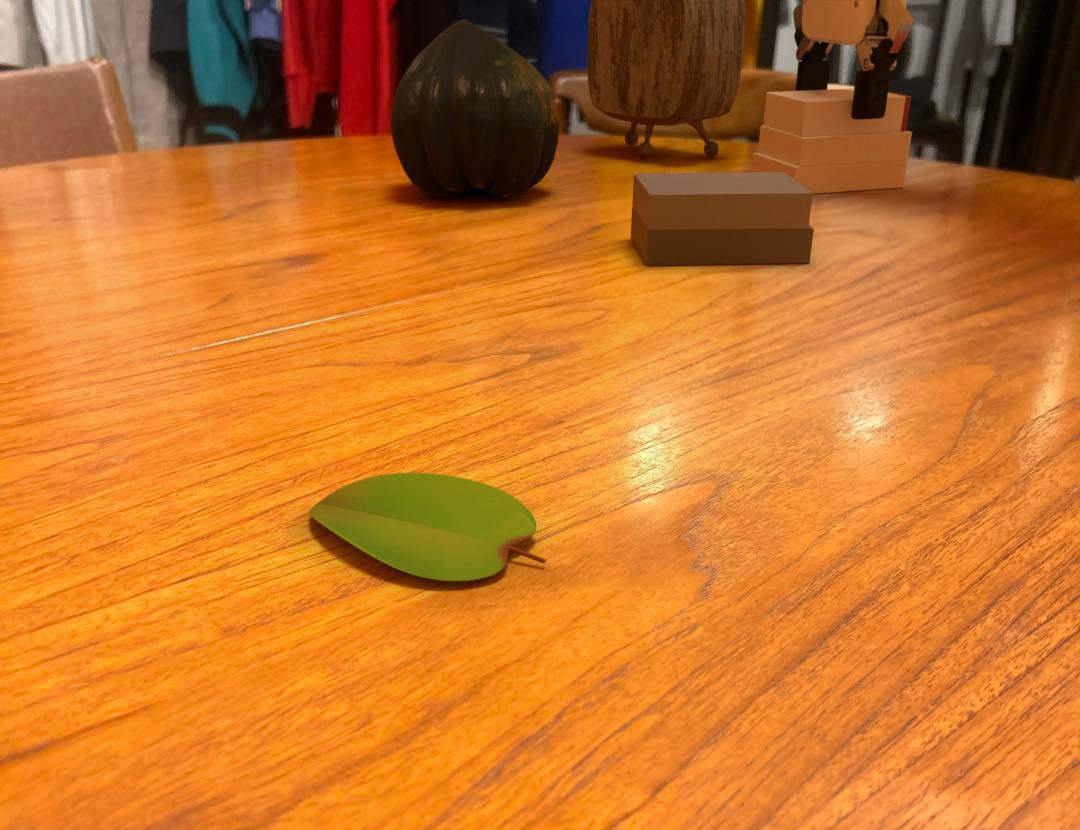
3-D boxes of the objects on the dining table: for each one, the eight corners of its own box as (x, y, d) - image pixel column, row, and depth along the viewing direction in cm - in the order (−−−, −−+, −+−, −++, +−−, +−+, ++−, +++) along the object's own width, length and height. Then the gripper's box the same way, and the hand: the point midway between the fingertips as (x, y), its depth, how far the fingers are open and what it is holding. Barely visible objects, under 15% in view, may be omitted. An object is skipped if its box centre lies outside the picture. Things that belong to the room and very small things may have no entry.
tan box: (862, 120, 107) (867, 87, 106) (905, 131, 101) (911, 96, 100) (762, 126, 104) (766, 91, 103) (801, 137, 98) (805, 101, 97)
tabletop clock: (734, 157, 117) (758, -114, 105) (686, 169, 111) (705, -117, 99) (627, 142, 125) (637, -110, 113) (577, 153, 119) (582, -113, 107)
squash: (504, 153, 87) (546, -8, 90) (343, 148, 92) (386, -4, 95) (555, 242, 100) (590, 99, 103) (411, 234, 105) (448, 98, 108)
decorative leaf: (379, 621, 38) (376, 599, 38) (298, 508, 45) (295, 488, 44) (569, 556, 41) (568, 535, 41) (467, 459, 48) (465, 440, 47)
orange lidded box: (855, 172, 110) (863, 119, 108) (903, 187, 103) (912, 132, 101) (750, 179, 107) (755, 125, 104) (792, 195, 100) (799, 138, 98)
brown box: (781, 237, 86) (788, 171, 84) (809, 263, 79) (818, 192, 77) (630, 238, 85) (633, 172, 83) (646, 265, 78) (649, 194, 76)
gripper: (964, -105, 87) (928, 122, 96) (844, -97, 102) (822, 99, 110) (884, -106, 85) (855, 126, 93) (773, -98, 100) (756, 103, 108)
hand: (837, 111), depth 102 cm, fingers open, 9 cm apart
